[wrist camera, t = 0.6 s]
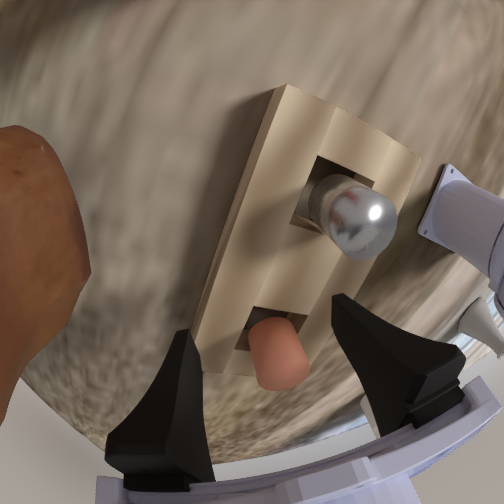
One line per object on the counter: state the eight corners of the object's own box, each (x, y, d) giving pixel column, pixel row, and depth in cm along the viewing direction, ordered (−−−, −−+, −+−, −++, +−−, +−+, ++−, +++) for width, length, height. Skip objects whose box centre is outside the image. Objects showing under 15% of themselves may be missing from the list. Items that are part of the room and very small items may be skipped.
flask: (485, 308, 36) (517, 341, 27) (459, 336, 38) (490, 373, 29) (482, 289, 33) (520, 325, 24) (453, 321, 35) (489, 362, 26)
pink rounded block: (301, 320, 23) (319, 359, 19) (283, 352, 24) (296, 391, 21) (257, 313, 22) (270, 355, 18) (241, 347, 23) (249, 389, 19)
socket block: (399, 151, 21) (421, 159, 18) (293, 358, 30) (300, 378, 27) (274, 88, 17) (287, 84, 15) (186, 345, 26) (186, 368, 24)
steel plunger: (368, 186, 18) (407, 207, 14) (346, 235, 20) (377, 266, 16) (322, 165, 17) (356, 182, 13) (299, 220, 19) (325, 251, 15)
